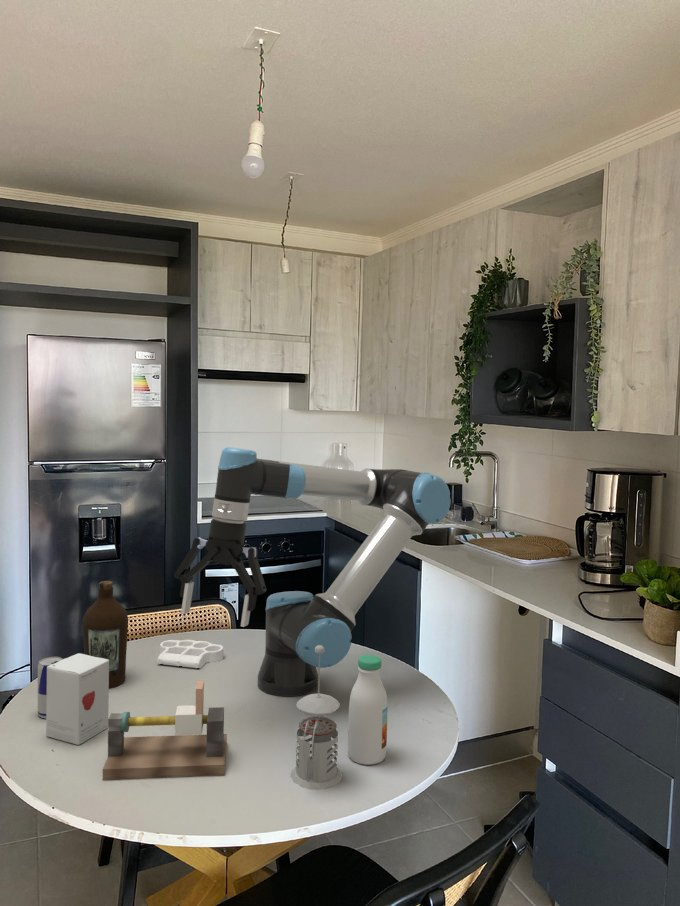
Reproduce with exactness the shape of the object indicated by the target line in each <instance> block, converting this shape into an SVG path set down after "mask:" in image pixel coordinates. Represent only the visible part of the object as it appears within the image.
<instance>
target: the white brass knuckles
mask: <svg viewBox="0 0 680 906" xmlns="http://www.w3.org/2000/svg"><path fill="white" fill-rule="evenodd" d="M223 659H224V646H223V645H222V644H214V643H211V642H209V641H205V640H195V639H183V640H176V639H169V640H164V641H162V642H161V643H159V655H158V657H157V660H156V662H157V664H159V665H160V664H163V666H164V665H166V666H175V667H179V666H182V668H190V669H191V668H193V669H197V668H200V669H202V668H203V667H204V666H205V664H204V663H206V664H208V663H207V662H212V663H217V662H216V661H218V662H221V661H222V660H223ZM220 660H221V661H220Z"/></svg>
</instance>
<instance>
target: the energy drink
mask: <svg viewBox="0 0 680 906" xmlns="http://www.w3.org/2000/svg"><path fill="white" fill-rule="evenodd" d="M63 659H64V658H62V657H60V656H49V657H44V658H42V659H39V661H38V665H37V716H38V717H39V718H40V717H41V719H43V718H44V719H45V720H46V705H47V666H50V665H52V664H54V663H57V662H59V661H61V660H63Z"/></svg>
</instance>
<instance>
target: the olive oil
mask: <svg viewBox="0 0 680 906" xmlns="http://www.w3.org/2000/svg"><path fill="white" fill-rule="evenodd" d="M90 605H91V604H90ZM128 630H129V616H128V613H127V610H126V608H125V607H124V606H123V605H122V604H121V603H120V602H119V601H118V600H117V599H115V597H114V587H113V581H112V580H104V581H103V580H102V581H100V582H99V583H98V597H97V599H96V600H95V601H94V602H93V603H92V605H91V606H89V608H88V609H87V610H86V611H85V613H84V615H83V617H82V637H83V638H82V639H83V654H85V655H89V656H93V657H98V658H104V659H108V660H109V689H114V688H116V687H118V686H120V685H123V684H124V682H126V670H127V667H126V666H127V646H128V645H127V644H128Z"/></svg>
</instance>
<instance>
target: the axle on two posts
mask: <svg viewBox="0 0 680 906" xmlns="http://www.w3.org/2000/svg"><path fill="white" fill-rule="evenodd" d="M202 724H203V725H206V734H202V735H154V736H125V733H128V732H129V730H130V727H149V726H175V715H173V716H172V715H166V716H164V715H163V716H131V712H130V711H123V713H122V712H119V713H116V712H115V713H112V712H111V713H110V714H109V716H108V728H107V729H108V730H107V731H108V732H107V758H106V760H105V762H104V765H103V767H102V781H104V780H105V781H106V780H129V779H130V780H131V779H134V780H135V779H152V778H153V779H154V778H155V779H156V778H157V779H158V778H177V777H178V778H180V777H182V778H183V777H203V776H204V777H206V776H224V775H225V769H226V768H225V767H226V757H227V756H226V753H227V743H228V742H227V737H228V736H227V735H228V734H227V733H225V732H224V731H225V729H224V728H225V707H224V706H223V707H221V706H219V707H208V711H207V714H203V715H202Z"/></svg>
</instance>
